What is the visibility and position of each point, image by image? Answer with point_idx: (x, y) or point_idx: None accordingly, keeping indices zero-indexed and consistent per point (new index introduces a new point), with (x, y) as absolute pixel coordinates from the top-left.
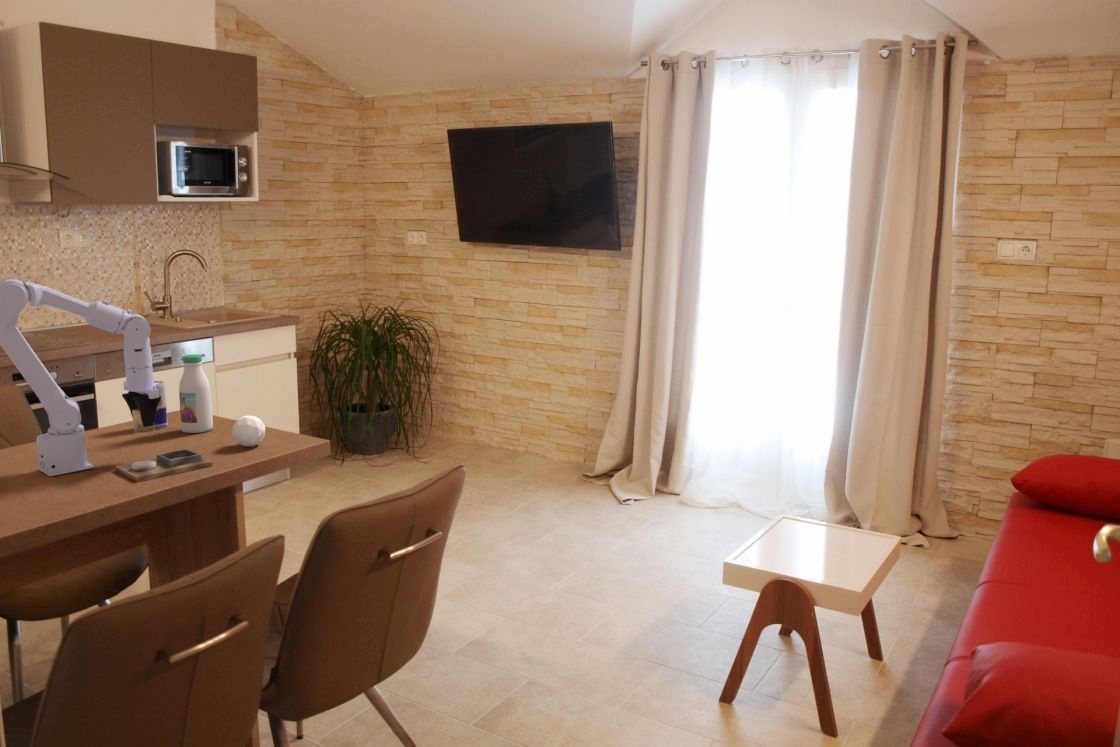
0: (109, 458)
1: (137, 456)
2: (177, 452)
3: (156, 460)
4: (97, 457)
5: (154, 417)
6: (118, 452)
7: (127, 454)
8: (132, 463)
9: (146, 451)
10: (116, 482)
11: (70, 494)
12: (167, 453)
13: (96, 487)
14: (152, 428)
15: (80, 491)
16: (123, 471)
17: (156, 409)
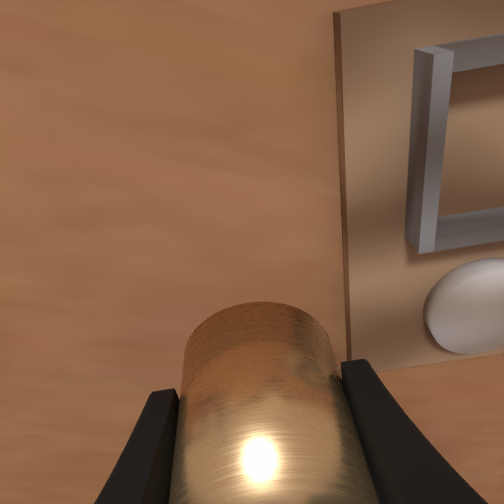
0: (134, 354)
1: (162, 264)
2: (440, 133)
3: (393, 234)
4: (92, 383)
5: (402, 413)
6: (35, 316)
7: (96, 292)
8: (359, 324)
9: (74, 210)
10: (498, 375)
11: (497, 463)
12: (437, 197)
13: (495, 418)
14: (321, 335)
15: (493, 447)
16: (437, 359)
17: (474, 492)
